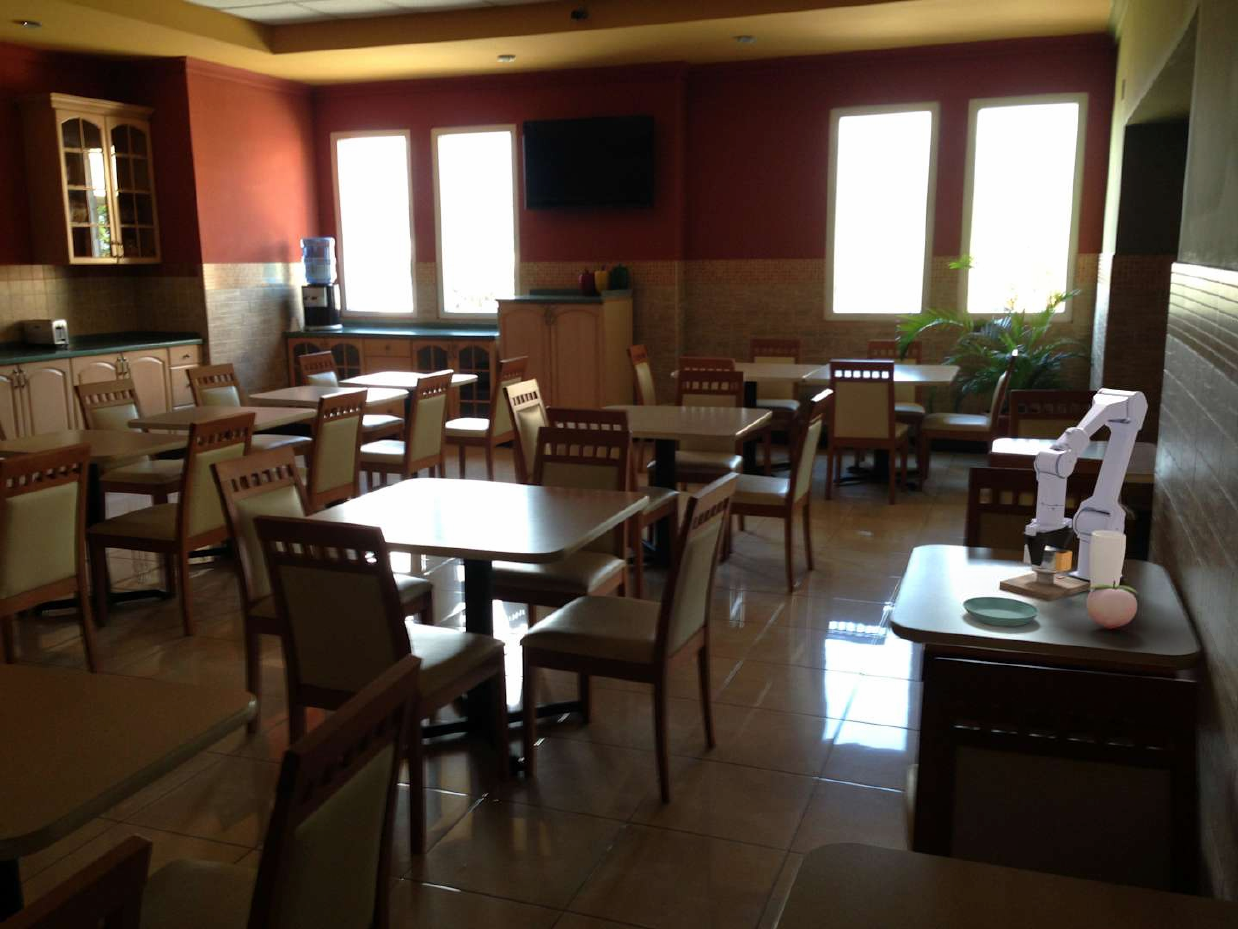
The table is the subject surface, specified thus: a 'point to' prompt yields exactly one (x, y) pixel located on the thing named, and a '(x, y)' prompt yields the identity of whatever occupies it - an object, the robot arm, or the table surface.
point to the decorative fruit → (1111, 604)
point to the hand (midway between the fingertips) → (1046, 562)
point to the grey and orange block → (1051, 560)
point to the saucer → (1000, 611)
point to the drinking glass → (1106, 557)
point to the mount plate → (1044, 586)
